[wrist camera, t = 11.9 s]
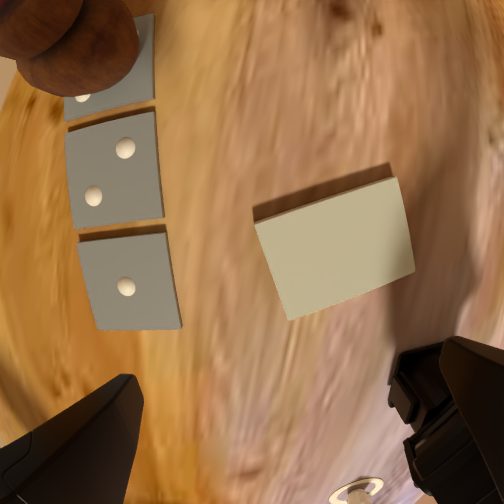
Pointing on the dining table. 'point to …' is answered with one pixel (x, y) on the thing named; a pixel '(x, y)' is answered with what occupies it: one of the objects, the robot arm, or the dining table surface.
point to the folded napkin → (337, 247)
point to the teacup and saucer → (357, 493)
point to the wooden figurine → (69, 43)
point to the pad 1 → (130, 87)
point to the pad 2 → (114, 172)
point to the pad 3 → (130, 282)
